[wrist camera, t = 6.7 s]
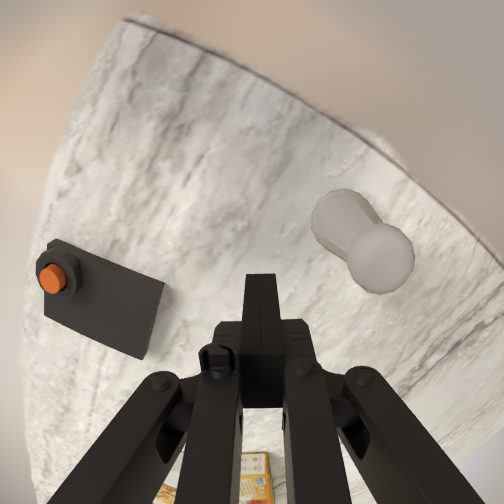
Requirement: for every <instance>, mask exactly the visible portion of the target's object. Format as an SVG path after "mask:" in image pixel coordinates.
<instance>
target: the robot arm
mask: <svg viewBox="0 0 504 504" xmlns="http://www.w3.org/2000/svg"><path fill="white" fill-rule="evenodd" d="M198 354H199V360H200V366H201V373H200V374H198V375H196V376H193V377H189V378H184V379H179V378H178V377H177V375H176V374H174V373H172V372H169V371H159V372H154V373H152V374H150V375H148V376H147V377H146V378H145V379H144V380H143V382H142V383H141V384H140V385H139V387H138V388H137V389H136V390H135V392H134V393H133V394H132V395H131V397H130V398H129V399H128V400H127V402H126V403H125V404H124V406H123V407H122V408H121V409H120V411H119V412H118V413H117V414H116V416H115V417H114V418H113V419H112V421H111V422H110V423H109V425H108V426H107V427H106V428H105V430H104V431H103V432H102V433H101V435H100V436H99V437H98V439H97V440H96V441H95V442H94V444H93V445H92V446H91V447H90V449H89V450H88V451H87V453H86V454H85V455H84V456H83V458H82V459H81V460H80V461H79V463H78V464H77V465H76V467H75V468H74V469H73V470H72V472H71V473H70V474H69V475H68V477H67V478H66V479H65V481H64V482H63V483H62V484H61V486H60V487H59V488H58V490H57V491H56V492H55V493H54V495H53V496H52V497H51V499H50V500H49V501H48V502H47V504H152V502H153V501H154V499H155V497H156V495H157V494H158V492H159V490H160V488H161V487H162V485H163V483H164V481H165V479H166V478H167V476H168V474H169V472H170V470H171V469H172V467H173V465H174V463H175V461H176V460H177V458H178V456H179V454H180V452H181V450H182V449H183V447H184V445H185V443H186V445H185V450H184V455H183V460H182V465H181V470H180V475H179V480H178V485H177V490H176V495H175V500H174V504H239V496H240V476H241V456H242V436H243V408H283V417H282V430H283V435H284V451H285V468H286V487H287V504H352V502H351V496H350V491H349V486H348V481H347V476H346V471H345V466H344V461H343V457H342V452H341V447H340V443H339V438H338V436H339V437H340V439H341V441H342V443H343V444H344V446H345V448H346V450H347V452H348V453H349V455H350V457H351V459H352V460H353V462H354V464H355V466H356V467H357V469H358V471H359V473H360V474H361V476H362V478H363V480H364V481H365V483H366V485H367V487H368V488H369V490H370V492H371V494H372V495H373V497H374V499H375V501H376V502H377V504H485V503H484V502H483V500H482V499H481V498H480V497H479V495H478V494H477V493H476V491H475V490H474V489H473V487H472V486H471V485H470V484H469V483H468V481H467V480H466V479H465V477H464V476H463V475H462V474H461V472H460V471H459V470H458V468H457V467H456V466H455V465H454V463H453V462H452V461H451V460H450V458H449V457H448V456H447V455H446V453H445V452H444V451H443V450H442V448H441V447H440V446H439V445H438V443H437V442H436V441H435V440H434V438H433V437H432V436H431V435H430V434H429V432H428V431H427V430H426V429H425V427H424V426H423V425H422V424H421V422H420V421H419V420H418V419H417V418H416V416H415V415H414V414H413V413H412V411H411V410H410V409H409V408H408V407H407V405H406V404H405V403H404V402H403V401H402V399H401V398H400V397H399V396H398V394H397V393H396V392H395V391H394V390H393V388H392V387H391V386H390V385H389V384H388V382H387V381H386V380H385V379H384V378H383V376H382V375H381V374H380V373H379V372H378V371H377V370H375V369H373V368H371V367H368V366H356V367H353V368H351V369H349V370H348V371H347V372H346V374H345V375H342V374H335V373H331V372H328V371H326V370H324V369H322V367H321V365H320V364H319V363H318V362H317V360H316V356H315V351H314V347H313V343H312V340H311V335H310V331H309V327H308V324H307V323H306V322H305V321H304V320H303V319H285V320H281V317H280V309H279V300H278V292H277V283H276V275H275V274H246V280H245V291H244V303H243V314H242V321H221V322H220V323H219V324H218V325H217V326H216V328H215V331H214V337H213V340H212V343H210V344H208V345H205V346H204V347H203V348H201V349H200V351H199V353H198Z"/></svg>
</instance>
